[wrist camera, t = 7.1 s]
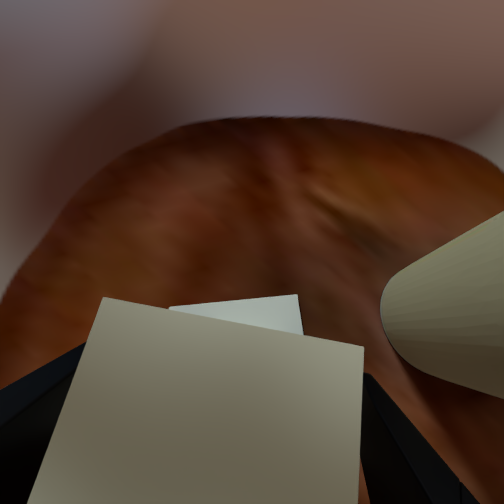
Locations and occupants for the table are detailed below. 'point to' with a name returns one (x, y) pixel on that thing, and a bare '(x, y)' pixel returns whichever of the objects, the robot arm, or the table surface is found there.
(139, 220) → the table surface
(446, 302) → the coffee cup
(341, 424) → the letter block
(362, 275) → the table surface
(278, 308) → the ceramic tile
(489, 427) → the table surface
